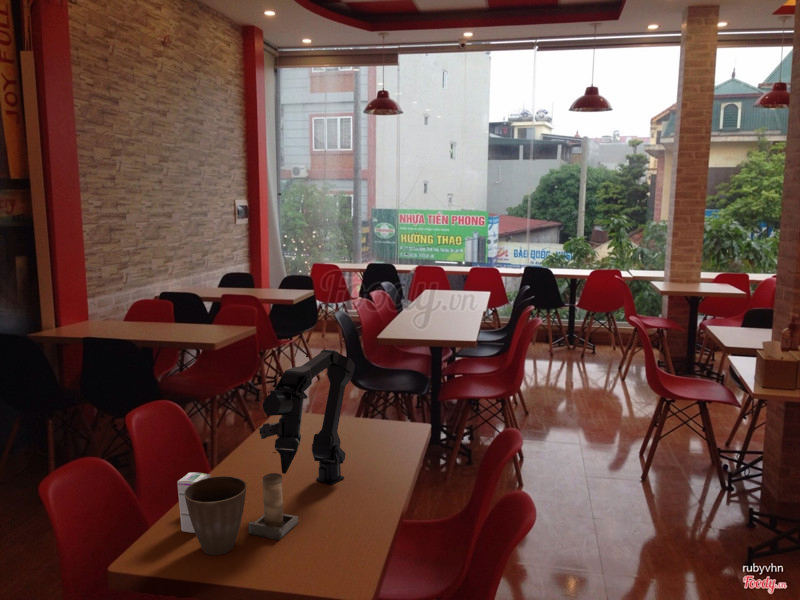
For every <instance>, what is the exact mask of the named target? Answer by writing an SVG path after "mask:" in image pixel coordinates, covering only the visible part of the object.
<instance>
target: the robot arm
mask: <svg viewBox="0 0 800 600" xmlns="http://www.w3.org/2000/svg"><path fill="white" fill-rule="evenodd" d="M355 369H356V366H355V362H353V359H351V358H349V357H347V356H346V355H343V354H341V353H340V352H339V351H336V350H334V349H322V350H321V351H320V352H319V353H318V354H317V355H315V356H314V357H313V358H311V359H309V360H307V362H305V363H304V364H302V365H300V366H295V367H294V366H293V367H290V368H288V369H286V370H285V371H283V373H282V375H281V377H280V379H279V380H278V382H277V383H276V386H274V387H275V388H274V389H273V390H270V393H269V394H268V395H267V396H266V397H265V398H264V400H263V401H262V409H263V412H264V414H266V415H267V416H271V417H272V416H274V417H275V416H281V417H280V418H278V421H277V422H272V423H270V422H267V423H263V424H262V426H260V427H259V428H258V430H259V432H258V434H259V435H260V439H261V440H263V439H264V440H265V439H267V438H269V437H273V436H276V435H277V436H276V437H277V438H276V439H275V440H274V441H275V442H274V449H275V451H276V452H278V454H279V456H280V466H281V467H280V468H281V473H282V474H285V475H286V474H287V472H288V470H289V469H290V466H291V465H292V463H293V460H294V459H295V457H296V454H297V452H298V450H299V446H300V445H301V441H302V433H301V426H302V425H301V424H302V421H303V420H302V419H303V418H302V417H303V416H302V415H303V409H304V408H303V407H304V400H307V399H308V398H309V397H308V395H307V394H306V393H305V391H307V389H309V388H310V386H311V385H312V384H313V380H314V378H315V377H316V376H318V375H320V374H321V373H322V372H324V370H327V371H326V376H327V378H328V381H329V388H328V393H327V399H326V404H325V410H324V414H323V415H324V416H323V421H322V427H321V430H320V431H318V433H315V434H314V435H313V439H312V440H313V441H312V444H311V453H312V456H313V460H314V461H315V462H318V463H319V464H318V465H319V466H318V476H317V477H316V481H319V482H321V483H324V484H326V485H330V486H331V485H333V484H336V483H338V482H339V481H341V480H343V479H344V480H345V476H343V475H341V465H342V464H344V461H346V452H345V451H344V450H343V449H342V447H341V442H342V441H341V438H340V436H339V433H338V428H339V423H340V417H341V414H342V413H341V412H342V406H343V400H344V395H345V389H346V387H347V385H348V384H349V382H350V381H351V380H352V379H353V375H354V372H355V371H356V370H355Z"/></svg>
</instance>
